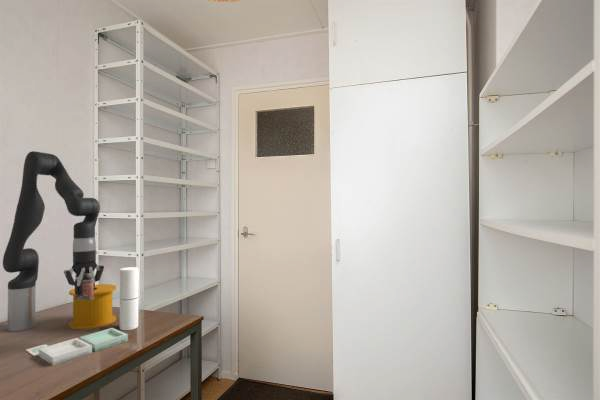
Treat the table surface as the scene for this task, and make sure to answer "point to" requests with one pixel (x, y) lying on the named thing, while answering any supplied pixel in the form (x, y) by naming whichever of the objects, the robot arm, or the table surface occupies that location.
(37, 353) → the card
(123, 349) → the table surface
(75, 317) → the spool
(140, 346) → the table surface
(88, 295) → the lighter
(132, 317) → the cylindrical container
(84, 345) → the white tray
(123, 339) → the green tray
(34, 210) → the robot arm
